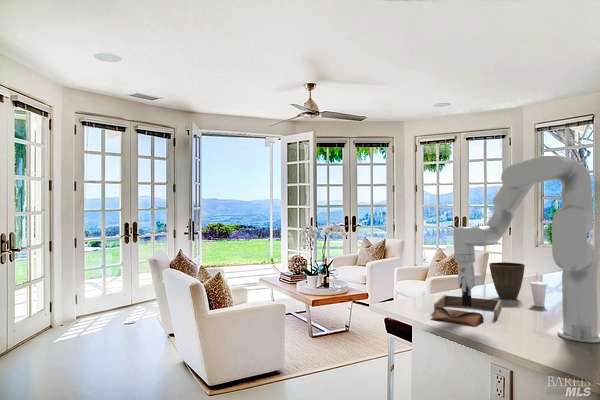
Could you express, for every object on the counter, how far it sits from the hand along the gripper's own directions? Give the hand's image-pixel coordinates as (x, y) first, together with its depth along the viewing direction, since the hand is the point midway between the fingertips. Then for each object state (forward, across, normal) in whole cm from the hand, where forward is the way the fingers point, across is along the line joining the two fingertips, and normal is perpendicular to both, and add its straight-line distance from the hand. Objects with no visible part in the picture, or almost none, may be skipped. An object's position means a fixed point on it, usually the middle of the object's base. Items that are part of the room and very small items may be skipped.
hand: (467, 305), depth 165 cm
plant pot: (+4, +44, -11) cm, 45 cm away
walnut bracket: (+4, +8, +1) cm, 9 cm away
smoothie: (+5, +34, -24) cm, 42 cm away
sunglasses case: (+5, -9, +3) cm, 10 cm away
